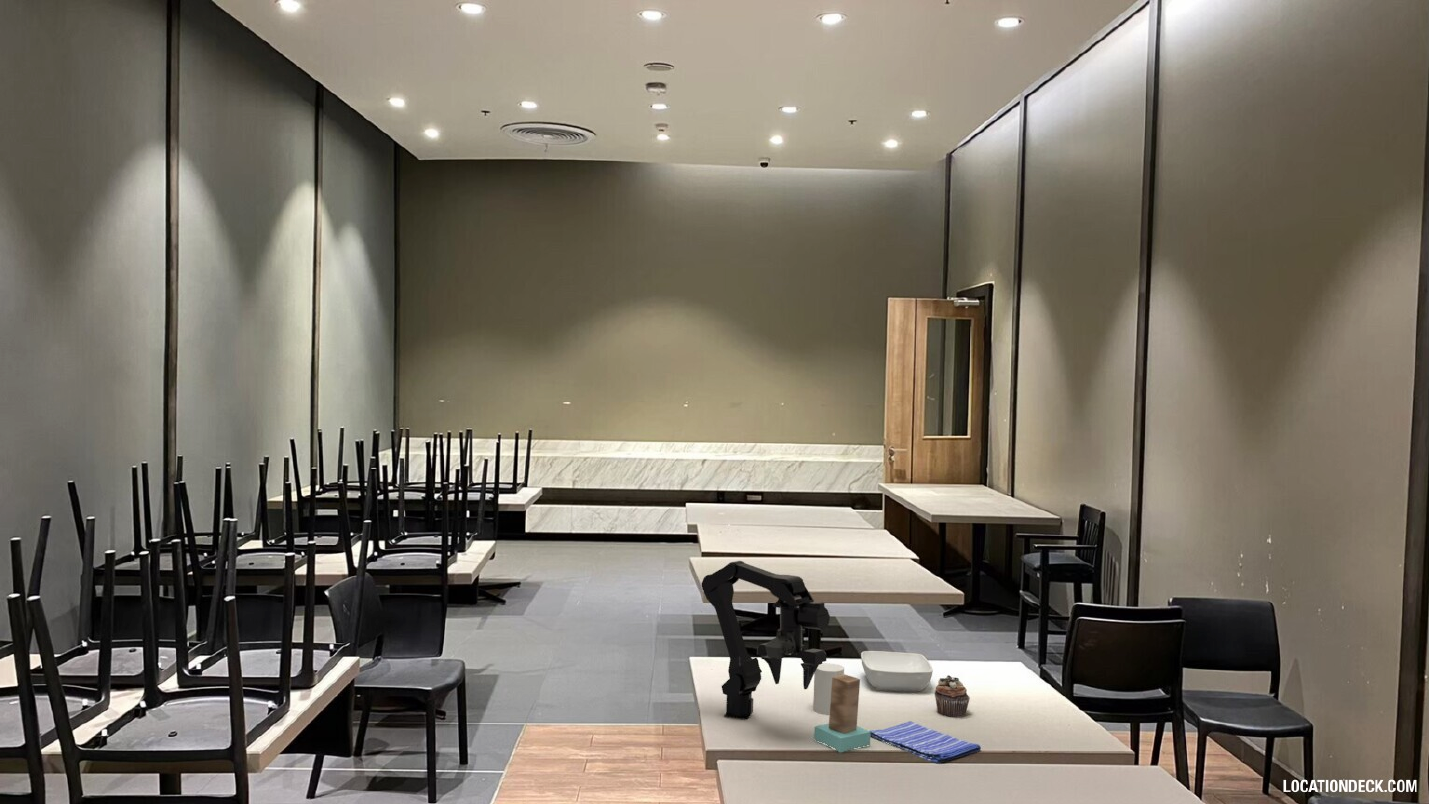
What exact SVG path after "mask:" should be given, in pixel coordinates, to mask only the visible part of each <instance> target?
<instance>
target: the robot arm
mask: <svg viewBox="0 0 1429 804" xmlns="http://www.w3.org/2000/svg"><path fill="white" fill-rule="evenodd" d="M739 580H742V581H745V582H748V583H750V584H751V585H752V584H753V585H755V586H758V587H760V588H764V589H766V590H767V591H769V592H770V593H771V595H772V596H774V597H776V598H777V599H778V600H777V601H776V602H774V603H773V604H772V606H773V608H779V610H780V611H779V612H780V615H779V624H780V625H779V626H780V627H779V629H776V636H775V638H772V639H771V640H770V641H768V642H765V643H760V644H759V645H758V646H757V647H756V655H757V656H758V657H759V656H760V659H761V660H764V661H765V662H766V664H767V665H768V667H769V669H770V672H771V675H772V678H773V681H774V684H775V685H778V684H779V683H780V680H781V671H782V662H783V659H784V658H785V656H787V657H792V658H798V659H801V661H802V662H801V663H800V666H801V668H802V670H803V671H802V672H803V673H802V675H803V676H802V679H803V680H802V682H803V683H802V684H803V690H808V688H809V687H810V684H811V681H812V679H813V677H814V673H815V671H816V669H817V667H818V666H819V665H820V664H822V663H825V662H827V653H826V652H825V650H823V649H818V648H810V649H806V645H805V644H803V634H804V635H805V634H806V629H805V628H807V629H813V630H820V631H821V630H822V631H824V630H826V629H827V628H828V626H829V624H830V618H831V616H830V614H829V610H828V609H827V608H826V606H825V602H823V601H819V602H814V601H815V600H814V598H813V597H812V595H811V594H810V592H809V590H808V588H807V587H806V585H805V582H804V580H803V578H802V577H800V576H797V575H790V574H776V573H773V572H771V571H769V570H766V569H763V568H760V567H757V566H754V565H751V564H749V563H746V562H744V561H742V560H736V561H732V562H729V563H728V564H726V565H725V566H724V567H722V568H720V569H718V570H716V571H715V572H713V573H712V574H706V575H705V576H704V577H703V578H702V582H701V585H700V586H701V589H702V591H703V594H704V596H705V599H706V600H707V601H708V602H709V603H710V604H711V605H712V607H713V608H714V609H715V614H716V616H717V620H718V623H719V625H720V629H721V633H722V636H723V639H724V642H725V646H726V650H727V653H728V655H729V656H728V657H729V662H728V663H729V665H728V669H727V671H728V679H727V681H725V682H724V683H723V684H722V685H721V690H722V694H724V695H726V702H725V703H726V706H725V707H726V708H725V709H726V710H725V713H724V714H723V717H725V718H731V719H740V720H746V721H747V720H749V718H750V717H751V716H752V715H753V713H754V697H753V696H752V693H754V692H756V691H757V688H758V685H760V683H761V680H762V672H763V671H762V669H761V667H760V664H759V659H758V658H757V657H753V658H752V656H751V655H750V654H749V653H748V651H747V647H746V644H745V641H744V637H743V635H742V631H741V627H740V624H739V621H738V619H737V614H736V610H735V608H734V605H733V598H734V592H735V591H734V584H736V583H737V582H738V581H739Z"/></svg>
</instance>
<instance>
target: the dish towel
mask: <svg viewBox="0 0 1429 804" xmlns="http://www.w3.org/2000/svg"><path fill="white" fill-rule="evenodd" d="M869 731H870V732H871V736H872V738H873V739H875V738H876V739H875V740H877V739H878V741H880V742H882V743H884V742H887V743H889V744H891V745H890V746H892V745H893V746H892V747H895V746H896V747H895V748H897V749H899V748H900V749H899V750H902V751H904V752H907V753H910V754H912V755H915V756H916V757H920V758H922V759H923V760H927V761H929V762H932V763H934V764H942V763H944V762H947V761H951V760H953V759H957V758H960V757H964V756H967V755H970V754H974V753H976V752H980V750H981V749H982V748H981V747H982V746H981V745H980V744H977V743H973V742H968V741H965V740H963V739H959V738H957V737H953V736H951V735H949V734H946V733H942V732H939V731H937V730H934V729H932V728H928V727H925V726H922V725H920V724H919V723H917V722H913V721H910V720H909V721H908V722H904V723H900V724H897V725H894V726H890V727H888V728H884V729H876V730H869ZM887 743H886V744H887ZM889 744H888V745H889Z"/></svg>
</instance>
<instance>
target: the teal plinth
mask: <svg viewBox="0 0 1429 804" xmlns="http://www.w3.org/2000/svg"><path fill="white" fill-rule="evenodd" d="M870 731H871V730H867V729H865V728H862V727H860V726H858V725H857V729H856V730H854V731H851V732H849V733H846V734H843V733H841V732H838V731H835V730H832V729H830V728H829V723H826V724H819V725H815V726H814V732H813V733H814V735H813V736H814V737H813V740H814V739H815V740H816V741H815V740H814V741H815V742H817V741H819V742H822V743H825V744H827V745H828V746H831V747H833V748H835V749H836V750H837V751H838V753H839V754H840V753H845V752H844V751H846V752H848V751H847V750H850V751H852V750H851V749H854V748H858V747H863V746H867V745H870V746H871V732H870ZM819 742H818V743H819ZM863 748H864V747H863ZM854 750H855V749H854ZM837 751H836V752H837Z"/></svg>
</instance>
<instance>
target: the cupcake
mask: <svg viewBox="0 0 1429 804" xmlns="http://www.w3.org/2000/svg"><path fill="white" fill-rule="evenodd" d="M937 681H938V682H937V685H936V686H935V690H934V700H935V702H936V703H935V704H936V705H935V706H936V711H937V713H938V714H939V715H941V716H943V717H947V718H963V717H966V715H967V710H968V707H969V703H970V699H971V697H970V696H969V695H968V694H967V690H968V689H967V688H966V687H965V686H964V684H963V682H962V681H960V679H959V678H958V677H952V676H951V675H947V676H946V677H945V678H944V677H943V678H939V679H938V680H937Z"/></svg>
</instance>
